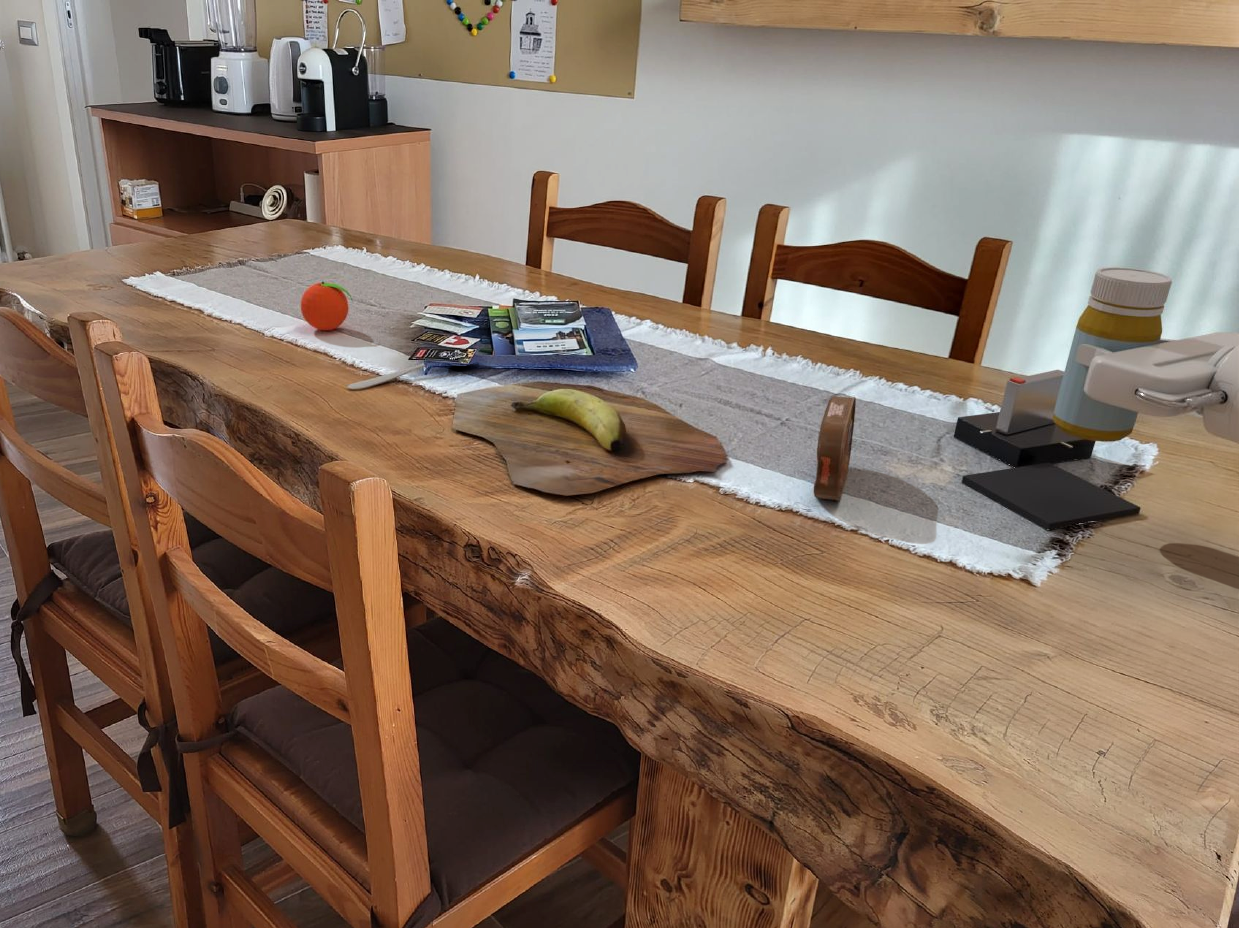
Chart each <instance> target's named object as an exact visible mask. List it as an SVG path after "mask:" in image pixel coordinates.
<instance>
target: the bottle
mask: <svg viewBox="0 0 1239 928" xmlns="http://www.w3.org/2000/svg"><path fill="white" fill-rule="evenodd" d="M1093 277H1094V278H1093V280H1092V285H1091V289H1090V295H1089V297H1088V300H1087V304H1088V305H1087V306H1086V308H1084V310H1083V312H1082V313H1081V315H1080V316H1079V318H1078V319H1077V323H1076V327H1075V330H1074V334H1073V338H1072V341H1071V346H1070V348H1069V353H1068V357H1067V361H1066V365H1065V368H1064V375H1063V379H1062V383H1061V387H1060V391H1059V394H1058V398H1057V402H1056V406H1055V410H1054V415H1053V421H1054V422H1055V424H1056V426H1057V427H1058V429H1059V430H1061V431H1063V432H1064V433H1067V434H1069V435H1071V436H1074V437H1078V438H1081V439H1087V440H1092V441H1096V442H1101V443H1102V442H1103V443H1107V442H1109V443H1111V442H1112V443H1114V442H1117V441H1122V440H1123V439H1125V438H1127V437H1128V436H1130V435H1131V434H1132V433H1133V431H1134V428H1135V425H1136V421H1137V418H1138V415H1139V413H1138V412H1135V411H1131V410H1127V409H1124V408H1120V407H1117V406H1113V405H1110V404H1106V403H1103V402H1100V401H1097V400H1094V399H1092V398H1090V397H1089V396H1088V395H1086V393H1085V392H1084V385H1085V381H1086V377H1087V374H1088V370H1089V366H1086V365H1082V364H1079V363H1078V362H1077V361H1076V355H1077V351H1078V348H1079V346H1080V345H1082V344H1089V345H1092V346H1096V347H1101V348H1104V349H1106V350H1108V351H1111V352H1113V353H1114V352H1119V351H1124V350H1129V349H1134V348H1140V347H1145V346H1150V345H1155V344H1159V342H1160V339H1162V338H1161V337H1162V334H1163V323H1162V314H1163V313H1164V311H1165V310H1164V309H1165V304H1166V303H1167V300H1168V297H1169V294H1170V291H1171V287H1172V285H1173V281H1172V280H1173V279H1172V277H1170V276H1169V275H1166V274H1164V273H1161V272H1157V271H1152V270H1146V269H1140V268H1133V267H1121V266H1120V267H1115V266H1113V267H1112V266H1111V267H1110V266H1109V267H1101V268H1097V269H1096V271H1095V274H1094V276H1093Z"/></svg>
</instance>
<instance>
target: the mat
mask: <svg viewBox="0 0 1239 928" xmlns="http://www.w3.org/2000/svg"><path fill="white" fill-rule="evenodd" d="M961 483H962V484H964V483H965V484H964V485H966V486H968V487H969V486H970V487H969V488H971V487H972V488H971V489H973V490H975V491H977V492H978V491H979V492H978V493H980V492H981V493H980V494H982V495H984V494H985V495H986V497H987V496H988V497H987V498H989V497H990V498H989V499H991V500H992V501H994V500H995V501H994V502H997V503H998V504H1000V505H1001V506H1003V505H1004V507H1005V508H1007V507H1008V508H1007V509H1008V510H1010V511H1012V510H1013V511H1012V512H1013V513H1016V514H1018V515H1019V516H1021V517H1023V518H1024V519H1027V520H1028V519H1029V520H1028V521H1030V522H1032V523H1034V524H1035V525H1037V524H1038V525H1037V526H1039V527H1041V526H1042V527H1041V528H1043V529H1044V528H1045V530H1046V529H1049V530H1048V531H1051V530H1050V529H1053V530H1056V529H1055V528H1059V529H1062V528H1061V527H1065V526H1069V525H1072V524H1079V523H1085V522H1088V521H1098V522H1104V521H1108V520H1114V519H1119V518H1125V517H1131V516H1136V515H1139V514H1140V512H1141V509H1142V507H1141V506H1139V505H1137V504H1135V503H1133V502H1131V501H1129V500H1127V499H1125V498H1123V497H1121V496H1119V495H1117V494H1115V493H1113V492H1111V491H1108V490H1106V489H1104V488H1102V487H1100V486H1098V485H1096V484H1094V483H1093V482H1090V481H1087V480H1086V479H1084V478H1081V477H1079V476H1078V475H1076V474H1074V473H1071V472H1069V471H1068V470H1065V469H1064V468H1061V467H1059V466H1057V465H1055V464H1054V463H1052V464H1051V463H1043V464H1037V465H1030V466H1023V467H1017V468H1013V467H1012V468H1004V469H998V470H991V471H985V472H984V471H983V472H978V473H969V474H965V475H964V474H963V475H962V478H961ZM985 495H984V496H985ZM1065 528H1066V527H1065Z"/></svg>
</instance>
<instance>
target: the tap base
mask: <svg viewBox="0 0 1239 928" xmlns="http://www.w3.org/2000/svg"><path fill="white" fill-rule="evenodd" d="M983 409H984V410H987V411H989V412H990V413H982V414H980V413H979V414H973V415H966V416H958V417H957V420H956V425H955V427H954V433H953V438H954V439H957V440H959V441H960V442H963V443H965V442H966V443H965V444H967V443H968V444H967V445H969V446H971V445H972V446H973V447H972V446H971V447H972V448H974V447H975V449H976V448H978V449H979V450H978V449H977V450H978V451H980V450H981V451H980V452H982V451H984V452H985V453H984V452H983V453H984V454H986V453H988V454H989V455H988V454H987V455H988V456H990V455H991V456H990V457H992V456H994V457H995V458H994V457H993V458H994V459H996V458H997V459H996V460H998V459H1000V460H1001V461H1000V460H999V461H1000V462H1002V461H1004V462H1006V463H1007V464H1006V463H1005V464H1006V465H1008V464H1010V465H1012V466H1013V467H1015V468H1017V467H1023V466H1030V465H1037V464H1043V463H1051V464H1057V463H1056V462H1059V463H1063V462H1062V461H1066V462H1072V461H1076V460H1075V459H1079V460H1085V459H1090V457H1091V458H1092V455H1093V453H1094V448H1095V445H1096V442H1097V441H1092V440H1087V439H1081V438H1078V437H1074V436H1071V435H1069V434H1067V433H1064V432H1063V431H1061V430H1059V429H1058V427H1057V426H1056V424H1055V423H1052V424H1048V425H1044V426H1040V427H1036V428H1033V429H1029V430H1025V431H1021V432H1017V433H1013V434H1009V435H1006V434H1003V433H1000V432H998V431H996V430H995V429H996V425H997V421H998V417H999V413H1000V411H997V412H995V409H992V408H990V407H988V406H983ZM1071 460H1072V461H1071ZM1004 462H1003V463H1004ZM1013 467H1012V468H1013Z"/></svg>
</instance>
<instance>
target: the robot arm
mask: <svg viewBox="0 0 1239 928" xmlns="http://www.w3.org/2000/svg"><path fill="white" fill-rule="evenodd" d="M1076 361H1077V362H1078V363H1079V364H1082V365H1086V366H1089V370H1088V374H1087V377H1086V381H1085V385H1084V392H1085V393H1086V395H1088V396H1089V397H1090V398H1092V399H1094V400H1097V401H1100V402H1103V403H1106V404H1110V405H1113V406H1117V407H1120V408H1124V409H1127V410H1131V411H1135V412H1138V414H1143V415H1146V416H1147V415H1148V416H1152V417H1158V418H1172V417H1177V416H1182V415H1185V414H1189V413H1194V412H1195V413H1196V414H1198V415H1200V416H1202V422H1203V427H1204V429H1205V430H1206V432H1207V433H1209V435H1212V436H1213V437H1217V438H1220V439H1224V440H1226V441H1229V442H1232V443H1234V444H1237V445H1239V332H1230V331H1216V332H1213V333H1207V334H1202V335H1197V336H1193V337H1186V338H1181V339H1170V338H1161V339H1160V342H1159V344H1155V345H1150V346H1145V347H1140V348H1134V349H1129V350H1124V351H1119V352H1114V353H1113V352H1111V351H1108V350H1106V349H1104V348H1101V347H1096V346H1092V345H1089V344H1082V345H1080V346H1079V348H1078V351H1077V355H1076Z"/></svg>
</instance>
